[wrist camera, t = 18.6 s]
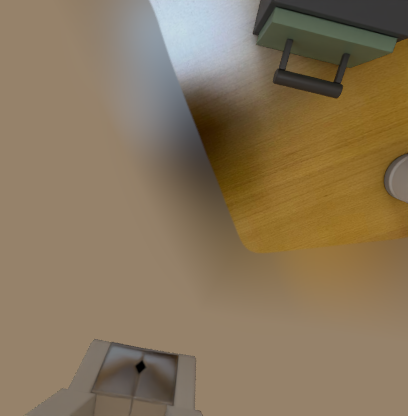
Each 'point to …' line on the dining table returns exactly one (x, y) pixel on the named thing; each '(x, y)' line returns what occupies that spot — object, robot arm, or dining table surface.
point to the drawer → (320, 47)
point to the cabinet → (347, 13)
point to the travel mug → (398, 178)
